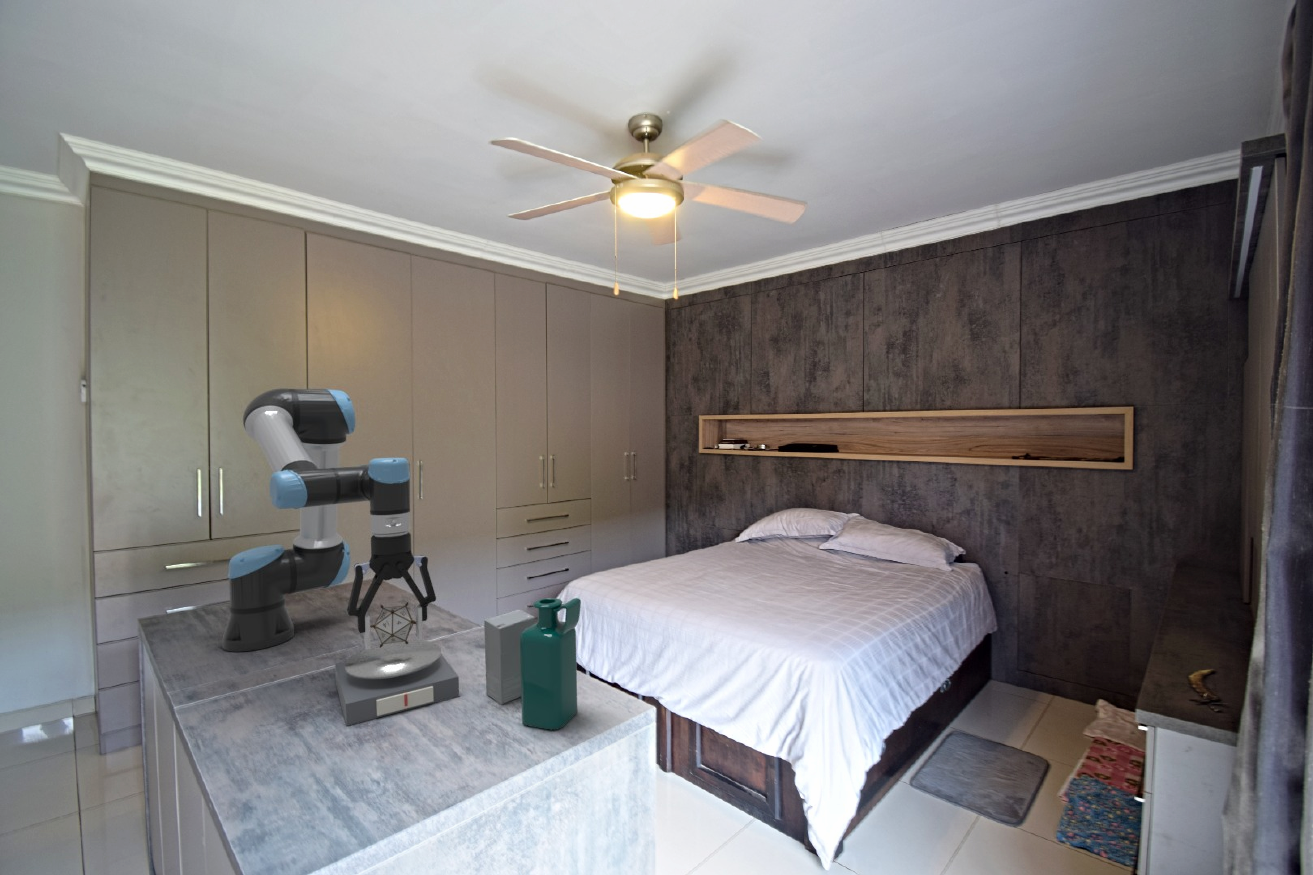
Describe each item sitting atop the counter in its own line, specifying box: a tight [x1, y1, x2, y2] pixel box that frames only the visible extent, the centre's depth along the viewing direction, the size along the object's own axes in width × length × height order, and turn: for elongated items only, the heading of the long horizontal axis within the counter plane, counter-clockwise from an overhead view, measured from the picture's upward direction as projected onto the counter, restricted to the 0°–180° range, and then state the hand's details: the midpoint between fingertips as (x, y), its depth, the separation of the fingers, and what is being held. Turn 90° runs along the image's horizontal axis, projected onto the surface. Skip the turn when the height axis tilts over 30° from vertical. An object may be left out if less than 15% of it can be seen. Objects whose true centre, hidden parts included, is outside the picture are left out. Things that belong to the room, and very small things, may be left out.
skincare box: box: [483, 608, 536, 705], centre depth 118 cm, size 8×7×16 cm
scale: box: [334, 653, 460, 727], centre depth 121 cm, size 23×20×4 cm
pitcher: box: [520, 597, 582, 731], centre depth 108 cm, size 10×8×22 cm
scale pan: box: [345, 639, 442, 679], centre depth 121 cm, size 18×18×2 cm
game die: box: [370, 601, 416, 648], centre depth 121 cm, size 9×8×10 cm
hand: (393, 641), depth 121 cm, fingers closed on game die, 9 cm apart
